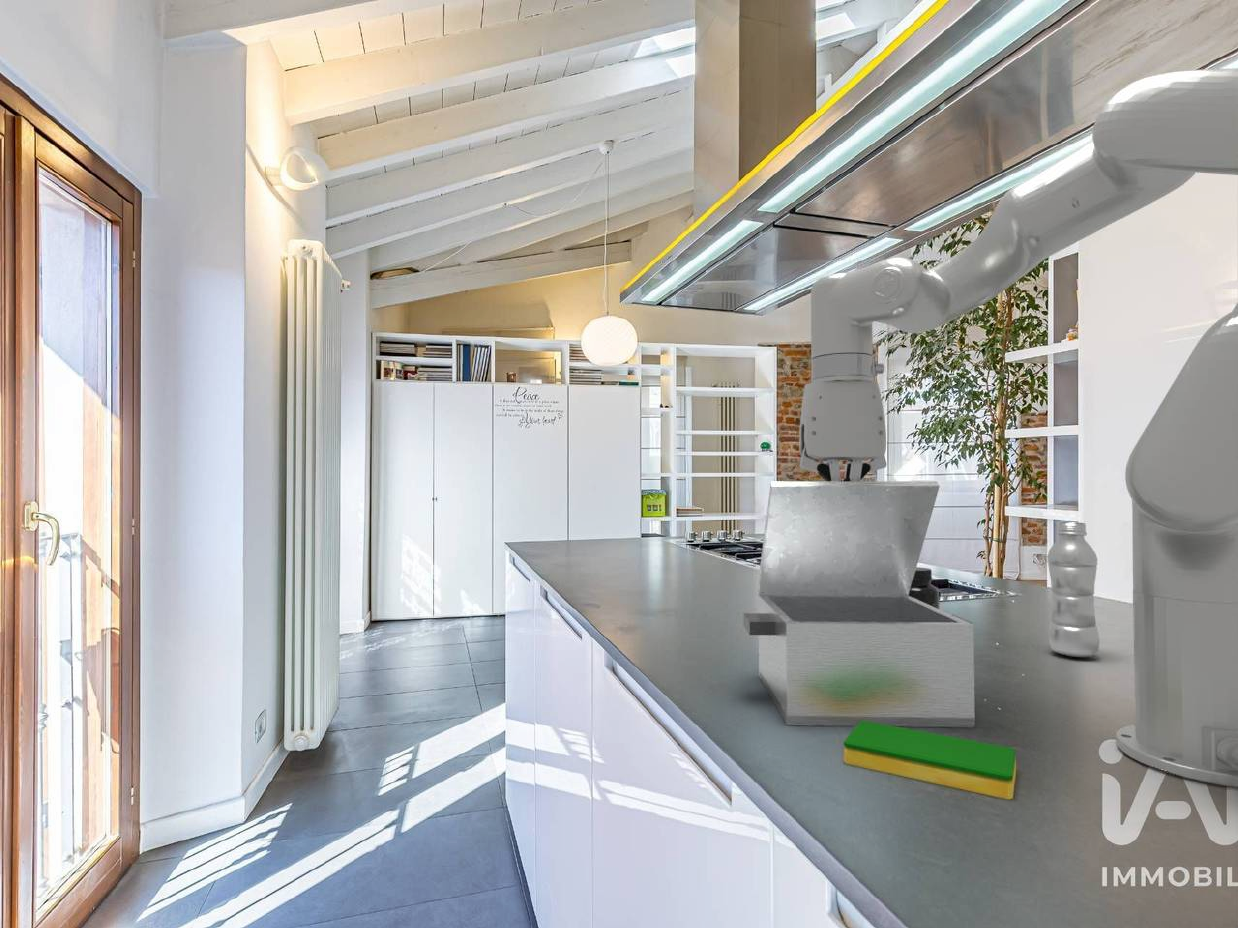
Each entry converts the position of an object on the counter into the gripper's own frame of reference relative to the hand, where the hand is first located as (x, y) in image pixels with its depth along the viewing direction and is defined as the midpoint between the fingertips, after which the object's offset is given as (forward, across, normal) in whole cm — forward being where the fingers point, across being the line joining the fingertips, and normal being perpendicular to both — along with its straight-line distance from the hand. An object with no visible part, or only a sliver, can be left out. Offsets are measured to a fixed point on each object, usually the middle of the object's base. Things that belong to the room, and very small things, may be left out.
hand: (843, 515), depth 86 cm
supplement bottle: (+22, -19, -25) cm, 38 cm away
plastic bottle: (+22, -39, -17) cm, 48 cm away
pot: (+22, 0, +4) cm, 22 cm away
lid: (+4, 0, 0) cm, 4 cm away
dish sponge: (+23, -1, +23) cm, 32 cm away
